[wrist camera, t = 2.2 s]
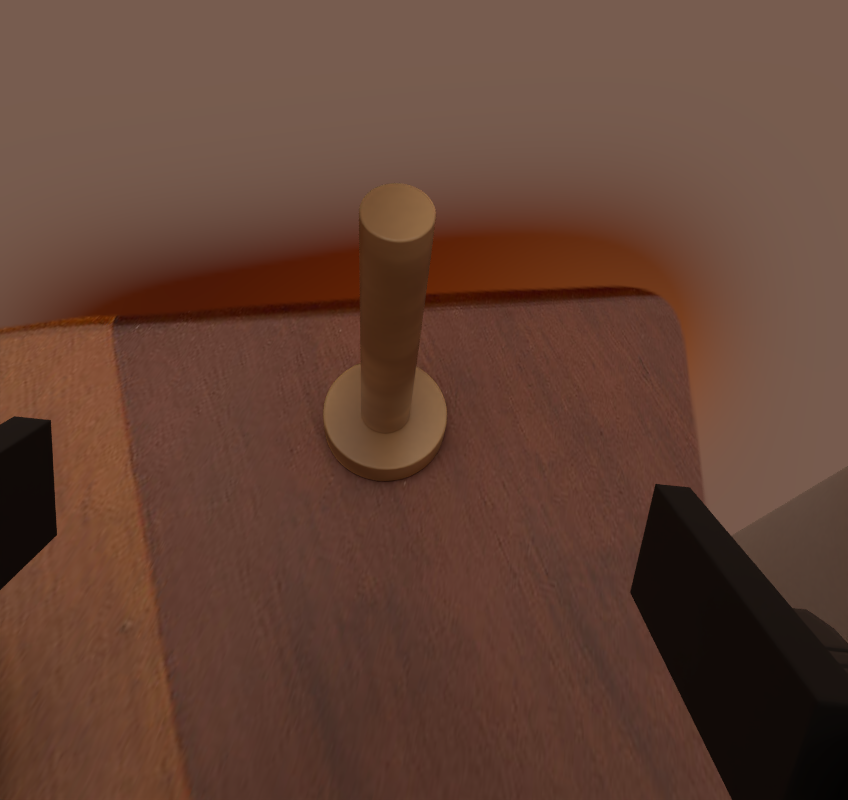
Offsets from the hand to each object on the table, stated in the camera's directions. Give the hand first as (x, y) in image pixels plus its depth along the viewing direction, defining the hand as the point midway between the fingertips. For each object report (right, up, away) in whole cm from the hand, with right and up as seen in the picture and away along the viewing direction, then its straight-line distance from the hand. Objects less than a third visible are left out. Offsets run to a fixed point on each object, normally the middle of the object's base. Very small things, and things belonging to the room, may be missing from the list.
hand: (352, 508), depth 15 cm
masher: (0, +1, +17) cm, 18 cm away
